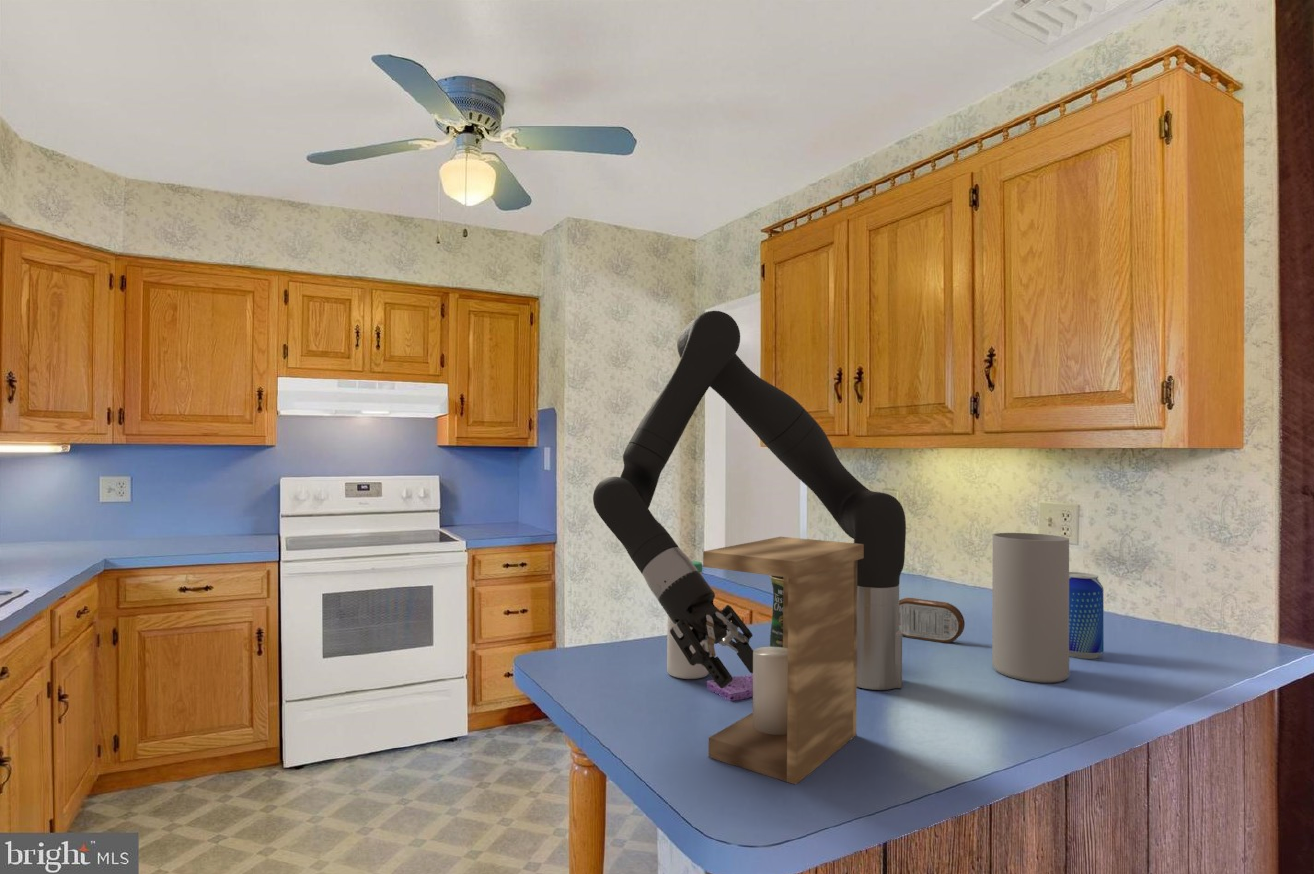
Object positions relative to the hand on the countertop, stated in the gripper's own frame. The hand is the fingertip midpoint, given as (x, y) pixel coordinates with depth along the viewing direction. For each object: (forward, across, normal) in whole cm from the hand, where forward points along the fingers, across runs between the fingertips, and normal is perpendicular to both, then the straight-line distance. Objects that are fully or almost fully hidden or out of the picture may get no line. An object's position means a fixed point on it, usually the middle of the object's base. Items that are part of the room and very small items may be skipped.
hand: (743, 676), depth 101 cm
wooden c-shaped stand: (+11, 0, +1) cm, 11 cm away
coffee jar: (-3, +44, +15) cm, 46 cm away
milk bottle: (-10, +19, +22) cm, 30 cm away
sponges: (0, +18, +13) cm, 22 cm away
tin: (+9, +71, +2) cm, 72 cm away
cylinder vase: (+25, +58, -13) cm, 65 cm away
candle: (+8, 0, +1) cm, 8 cm away
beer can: (+29, +79, -18) cm, 86 cm away
